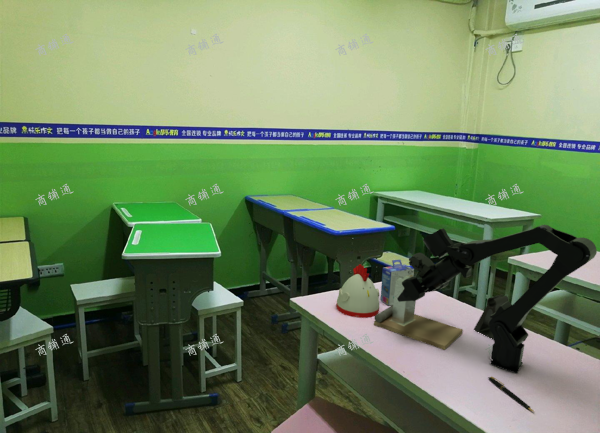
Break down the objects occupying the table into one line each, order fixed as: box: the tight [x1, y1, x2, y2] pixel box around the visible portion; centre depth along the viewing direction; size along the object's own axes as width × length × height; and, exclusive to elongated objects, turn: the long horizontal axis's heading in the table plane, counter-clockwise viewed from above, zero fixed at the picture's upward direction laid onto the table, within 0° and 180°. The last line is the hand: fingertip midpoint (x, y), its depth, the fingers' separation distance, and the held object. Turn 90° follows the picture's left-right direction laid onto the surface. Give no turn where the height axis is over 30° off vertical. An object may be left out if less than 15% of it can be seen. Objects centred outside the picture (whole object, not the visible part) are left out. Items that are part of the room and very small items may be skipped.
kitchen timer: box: [335, 264, 381, 319], centre depth 147 cm, size 14×14×15 cm
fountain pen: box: [487, 375, 535, 413], centre depth 104 cm, size 14×1×2 cm, turn 19°
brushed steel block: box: [392, 276, 417, 325], centre depth 138 cm, size 5×6×13 cm
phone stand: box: [473, 294, 510, 340], centre depth 134 cm, size 9×6×12 cm, turn 32°
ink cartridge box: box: [380, 259, 415, 307], centre depth 155 cm, size 10×6×14 cm, turn 116°
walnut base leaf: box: [373, 305, 464, 351], centre depth 136 cm, size 22×14×4 cm, turn 51°
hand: (406, 296), depth 137 cm, fingers open, 9 cm apart
